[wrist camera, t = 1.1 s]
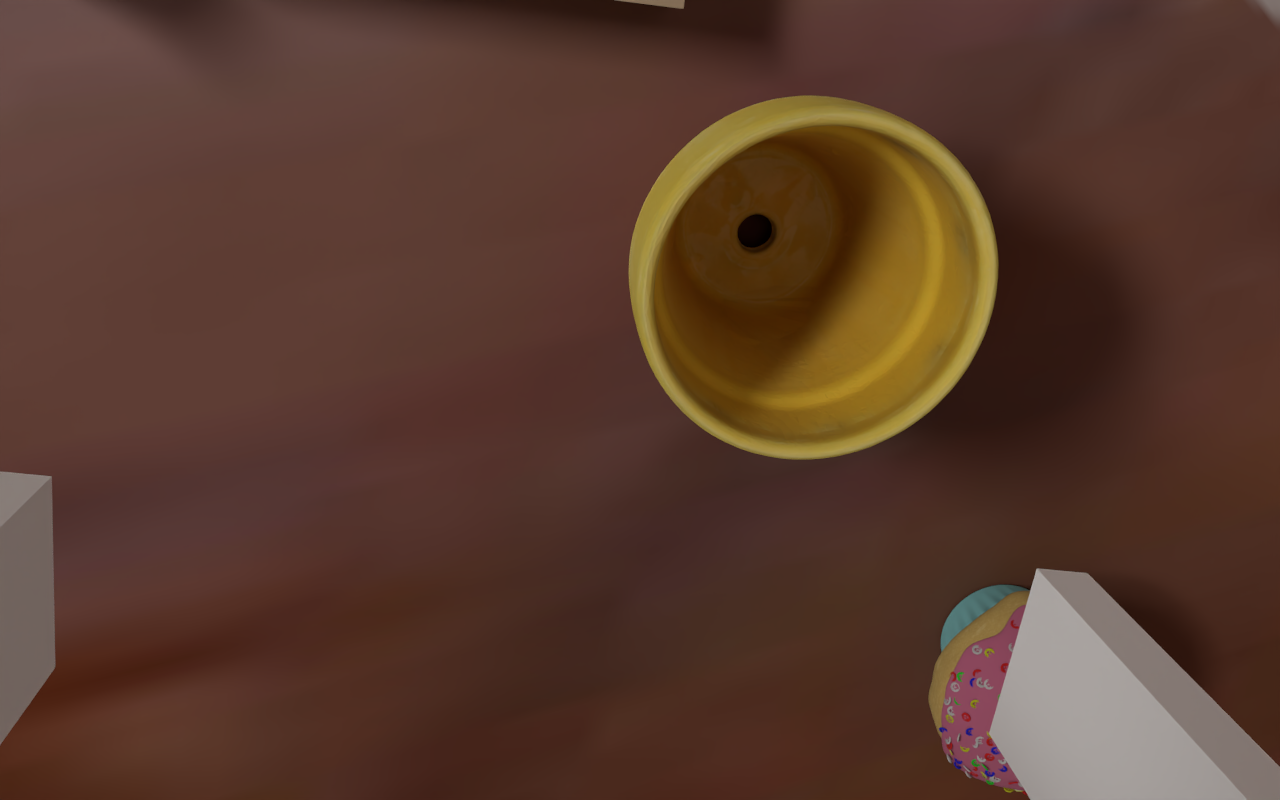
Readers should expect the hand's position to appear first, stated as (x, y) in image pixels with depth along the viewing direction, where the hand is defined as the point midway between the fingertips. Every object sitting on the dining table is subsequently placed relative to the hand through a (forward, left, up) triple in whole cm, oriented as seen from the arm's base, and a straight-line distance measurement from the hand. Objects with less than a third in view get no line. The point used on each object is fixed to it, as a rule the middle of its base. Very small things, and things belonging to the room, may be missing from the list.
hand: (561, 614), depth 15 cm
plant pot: (-1, +8, -27) cm, 28 cm away
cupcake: (+15, +21, -27) cm, 37 cm away
